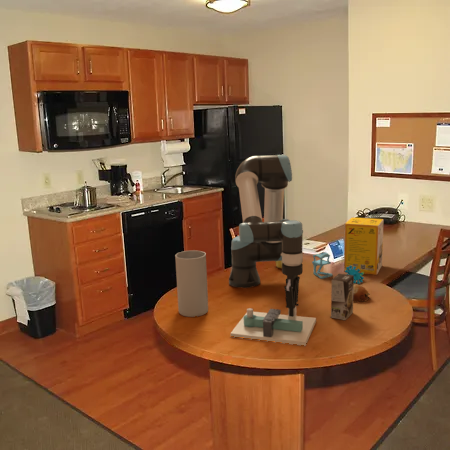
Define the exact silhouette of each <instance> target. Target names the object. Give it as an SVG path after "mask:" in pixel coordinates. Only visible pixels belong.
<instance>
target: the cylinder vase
mask: <svg viewBox="0 0 450 450" xmlns="http://www.w3.org/2000/svg"><path fill="white" fill-rule="evenodd" d="M206 254H207V253H206V252H205V251H201V250H184V251H183V250H182V251H181V252H177V253H176V254H175V255H174V257H175V272H176V273H175V275H176V276H175V277H176V288H177V290H176V291H177V307H178V308H177V309H178V314H180V315H181V316H183V317H189V318H195V316H197V317H201V316H204V315H205V314H206V313H208V312H209V296H208V271H207V270H208V269H207V255H206Z"/></svg>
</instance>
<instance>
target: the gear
mask: <svg viewBox="0 0 450 450" xmlns="http://www.w3.org/2000/svg"><path fill="white" fill-rule="evenodd" d="M349 268H350V269H349ZM346 269H347V270H345V271H344V273H346V274H347V275H354V283H353V285H354V284H359V285H361V283H364V281H363V280H364V276H363V275H364V272H362V273H359V271H360V269H358V270H355V269H356V267H355V266H354V267H353V269H352V266H351V265H350V266H349V267H347V268H346ZM348 271H349V272H348Z"/></svg>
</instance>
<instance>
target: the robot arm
mask: <svg viewBox="0 0 450 450" xmlns="http://www.w3.org/2000/svg"><path fill="white" fill-rule="evenodd" d="M290 160H291V159H290V158H289V156H287V154H286V155H285V154H275V155H274V154H273V155H271V154H270V155H252V156H250V157H247V158H246V159H245V160H243V161H242V162H241V163H240V164H239V166H238V168H237V169H236V172H235V185H236V186H237V188H238V192H239V200H240V209H241V215H242V217H241V218H242V223H239V225H238V236H236V237H233V238H232V240H231V247H230V249H231V271H230V272H229V273H230V274H229V277H228V284H229V286H231V287H234V288H238V289H239V288H241V289H246V288H247V289H248V288H254V287H256V286H259V284H261V277H260V274H259V272H258V268H257V263H259V262H263V263H265V262H275V261H281V260H282V262H283V264H282V268H281V272H282V274H283V275H285V276H286V279H285V284H286V285H284V287H283V288H284V291H285V293H284V294H285V304H286V305H285V308H286V309H288V310H287V315H288V320H296V316H297V307H299V306H300V305H299V303H298V302H299V292H300V291H299V288H300V277H301V276H300V275H302V274H303V273H304V272H303V259H304V258H303V257H304V256H303V254H304V253H303V241H304V240H303V233H304V229H303V223H302V222H301V221H299V220H295V219H293V220H290V219H289V218H284V200H285V198H284V197H285V189H287V187H288V186H289V185H288V184H289V183H290V182H292V181H293V173H292V165H291V161H290ZM259 183H261V187H262V188H264V209H263V212H264V213H263V215H264V216H262V210H261V204H260V197H259V192H258V191H259V190H258V186H257V185H258V184H259Z"/></svg>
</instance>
